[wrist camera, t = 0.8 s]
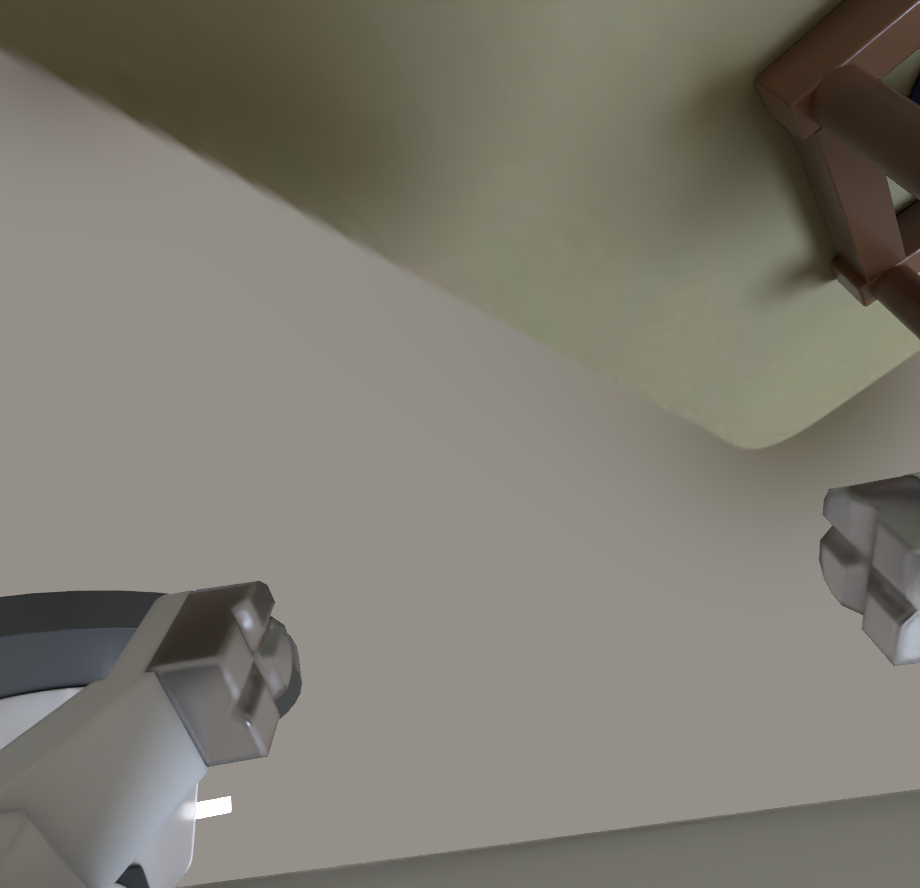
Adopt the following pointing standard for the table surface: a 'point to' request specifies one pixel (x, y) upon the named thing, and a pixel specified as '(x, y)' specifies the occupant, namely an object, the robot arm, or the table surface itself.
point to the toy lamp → (916, 93)
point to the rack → (858, 144)
